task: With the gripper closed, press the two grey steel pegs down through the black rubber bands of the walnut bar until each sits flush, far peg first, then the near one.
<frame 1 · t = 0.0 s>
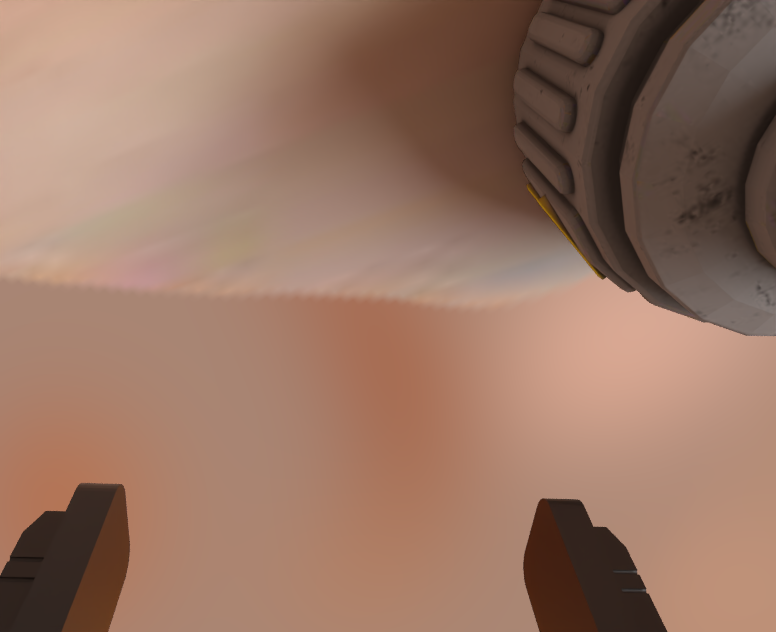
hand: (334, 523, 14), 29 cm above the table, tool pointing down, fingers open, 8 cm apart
decorative lamp: (663, 82, 39), on the table
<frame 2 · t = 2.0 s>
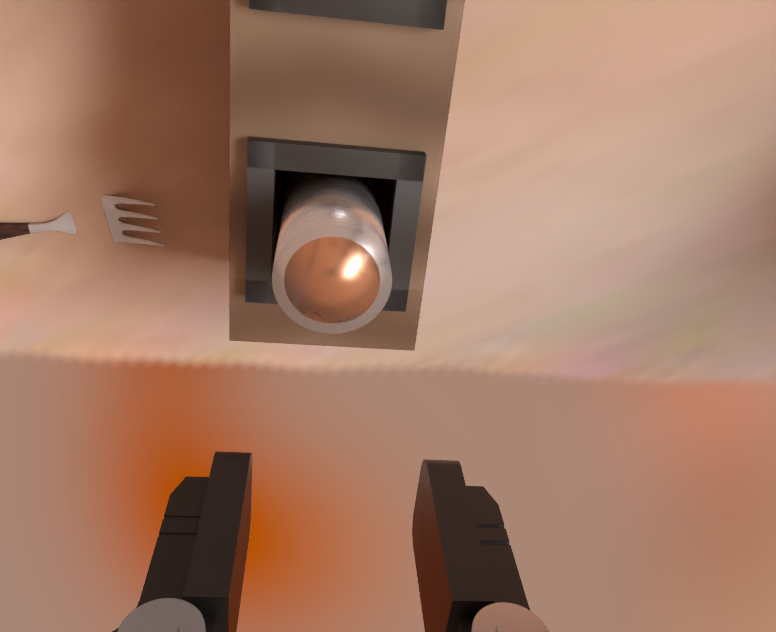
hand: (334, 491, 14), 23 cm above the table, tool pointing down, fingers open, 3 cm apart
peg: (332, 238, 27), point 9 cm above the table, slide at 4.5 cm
fork: (12, 225, 36), on the table
walnut bar: (339, 52, 32), on the table
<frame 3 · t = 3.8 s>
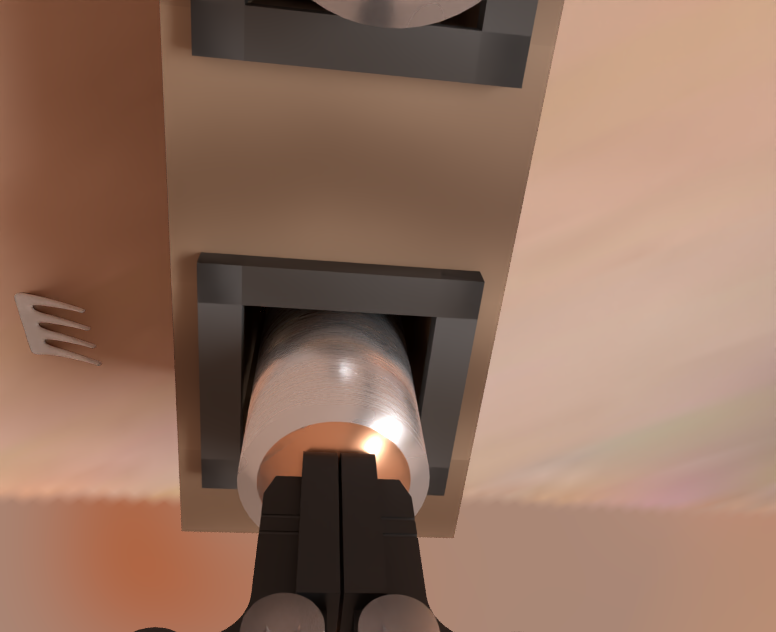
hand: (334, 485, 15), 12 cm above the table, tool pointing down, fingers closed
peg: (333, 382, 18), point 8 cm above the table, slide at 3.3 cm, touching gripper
walnut bar: (345, 98, 22), on the table
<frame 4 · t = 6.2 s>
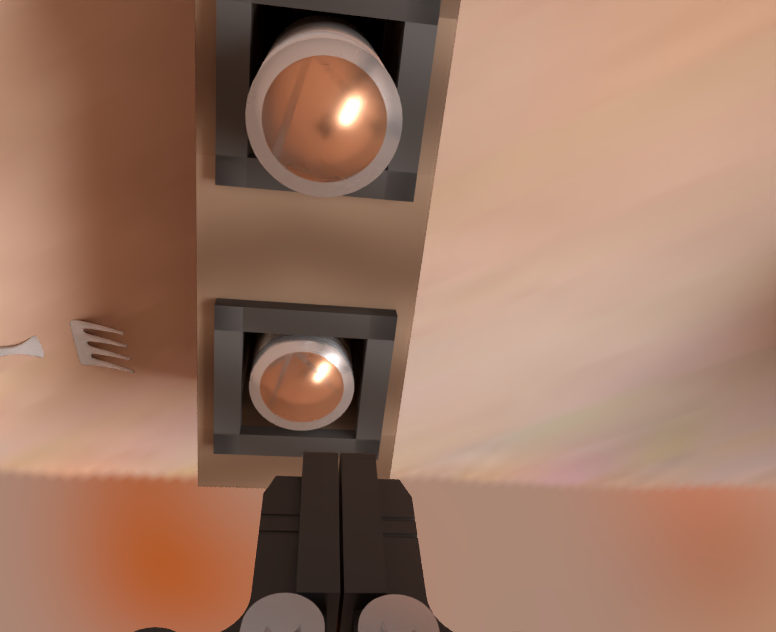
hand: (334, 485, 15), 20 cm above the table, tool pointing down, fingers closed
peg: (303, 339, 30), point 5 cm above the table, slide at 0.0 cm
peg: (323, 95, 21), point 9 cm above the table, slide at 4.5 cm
walnut bar: (313, 184, 32), on the table
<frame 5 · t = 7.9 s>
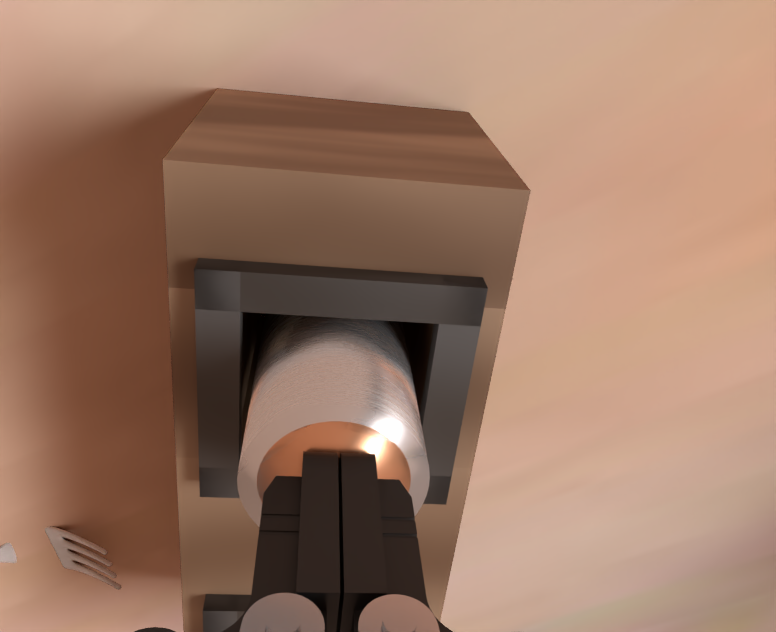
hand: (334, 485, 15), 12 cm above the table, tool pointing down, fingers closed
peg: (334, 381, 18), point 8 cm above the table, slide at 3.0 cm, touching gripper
walnut bar: (323, 387, 27), on the table
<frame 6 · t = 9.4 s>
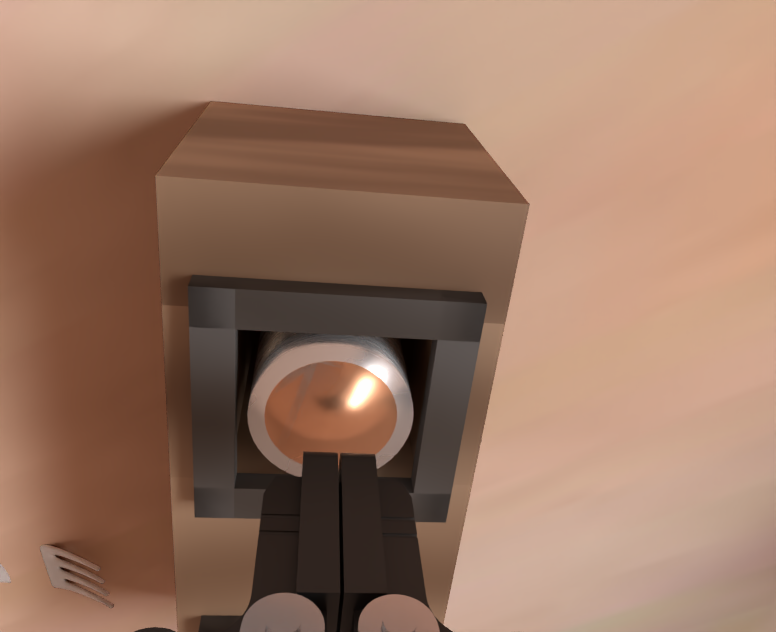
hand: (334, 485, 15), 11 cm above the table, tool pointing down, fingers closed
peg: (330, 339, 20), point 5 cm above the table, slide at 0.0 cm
walnut bar: (319, 402, 27), on the table
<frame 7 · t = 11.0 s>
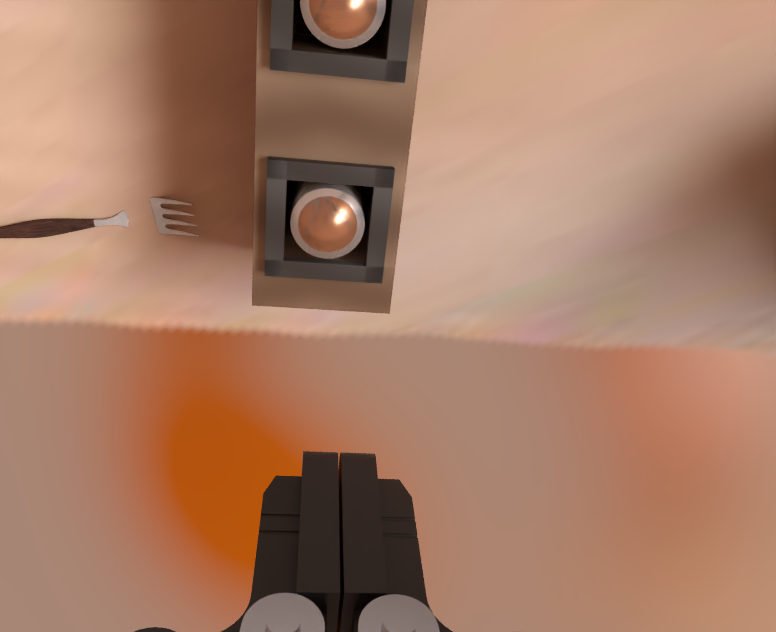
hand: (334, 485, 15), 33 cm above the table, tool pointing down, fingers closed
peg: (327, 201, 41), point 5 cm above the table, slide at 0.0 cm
fork: (80, 220, 46), on the table
walnut bar: (334, 89, 43), on the table
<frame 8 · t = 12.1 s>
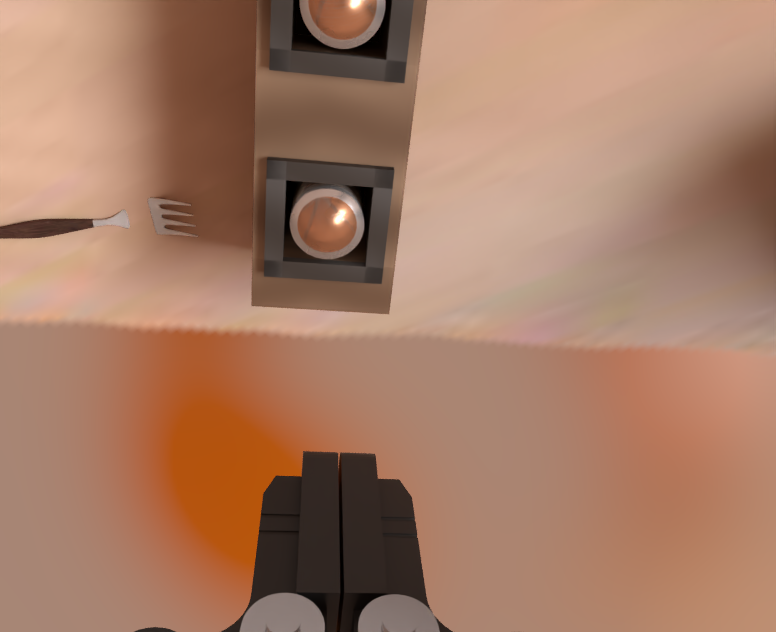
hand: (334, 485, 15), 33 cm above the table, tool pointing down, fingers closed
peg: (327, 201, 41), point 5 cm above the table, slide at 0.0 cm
fork: (79, 221, 46), on the table
walnut bar: (333, 90, 43), on the table
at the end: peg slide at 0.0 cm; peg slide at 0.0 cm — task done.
